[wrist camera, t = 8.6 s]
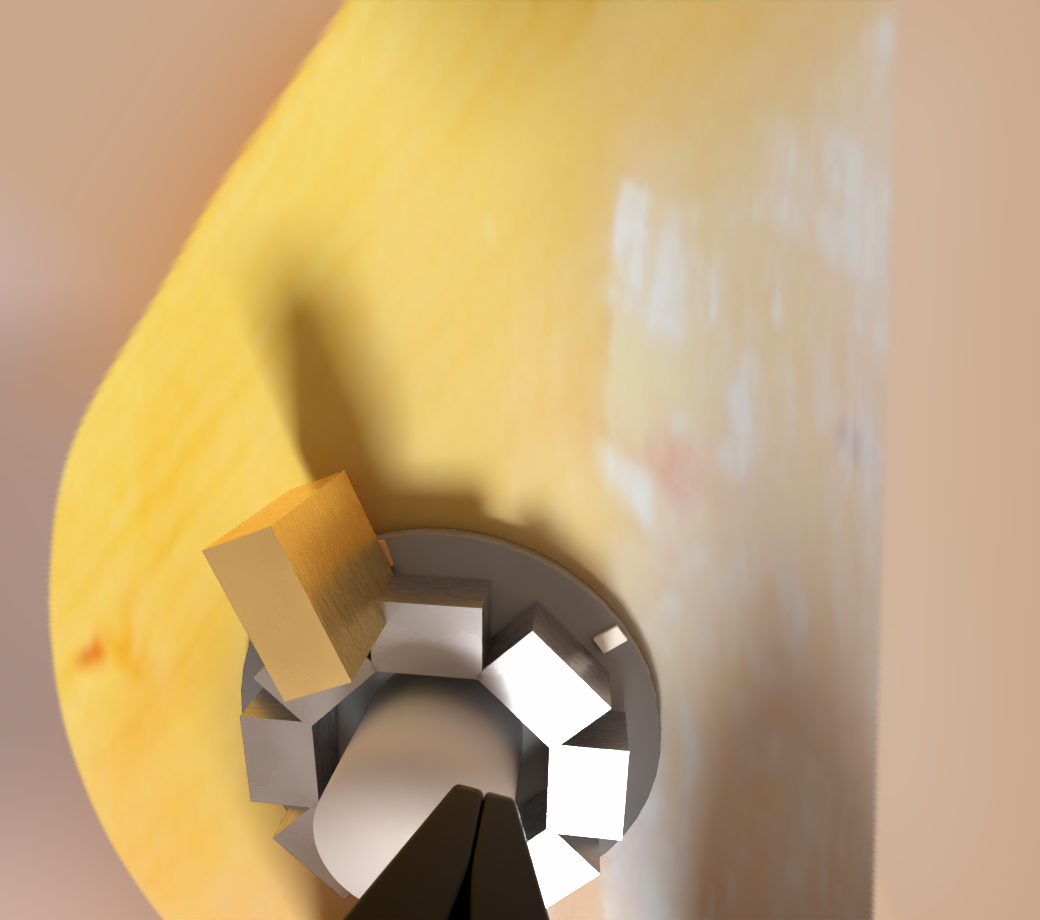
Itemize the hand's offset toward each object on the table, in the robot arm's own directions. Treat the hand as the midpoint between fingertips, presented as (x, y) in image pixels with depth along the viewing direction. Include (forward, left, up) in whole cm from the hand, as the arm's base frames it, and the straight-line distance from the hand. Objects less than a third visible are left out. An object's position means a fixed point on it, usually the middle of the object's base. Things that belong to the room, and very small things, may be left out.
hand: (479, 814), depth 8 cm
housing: (-5, +7, -12) cm, 15 cm away
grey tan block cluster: (-3, +7, -11) cm, 13 cm away
